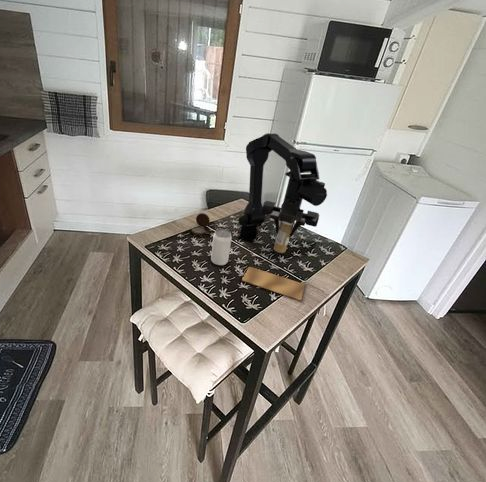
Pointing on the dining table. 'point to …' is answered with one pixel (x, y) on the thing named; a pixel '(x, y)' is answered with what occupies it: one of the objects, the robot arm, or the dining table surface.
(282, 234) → the sprinkles bottle
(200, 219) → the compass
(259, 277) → the front mat
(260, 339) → the dining table surface
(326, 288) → the dining table surface
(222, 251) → the can
